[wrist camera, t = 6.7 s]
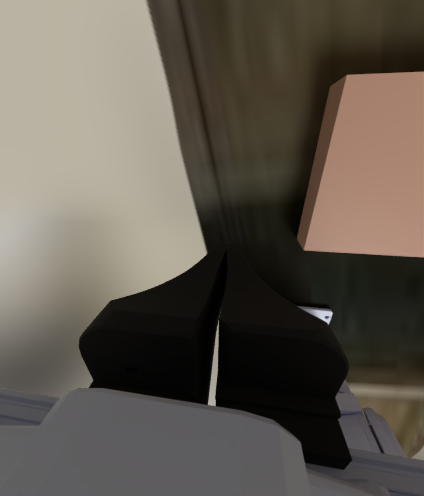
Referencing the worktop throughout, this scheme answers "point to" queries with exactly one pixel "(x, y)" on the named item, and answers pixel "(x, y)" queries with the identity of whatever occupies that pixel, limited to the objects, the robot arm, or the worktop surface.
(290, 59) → the worktop surface
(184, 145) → the worktop surface
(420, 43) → the worktop surface
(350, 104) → the book
